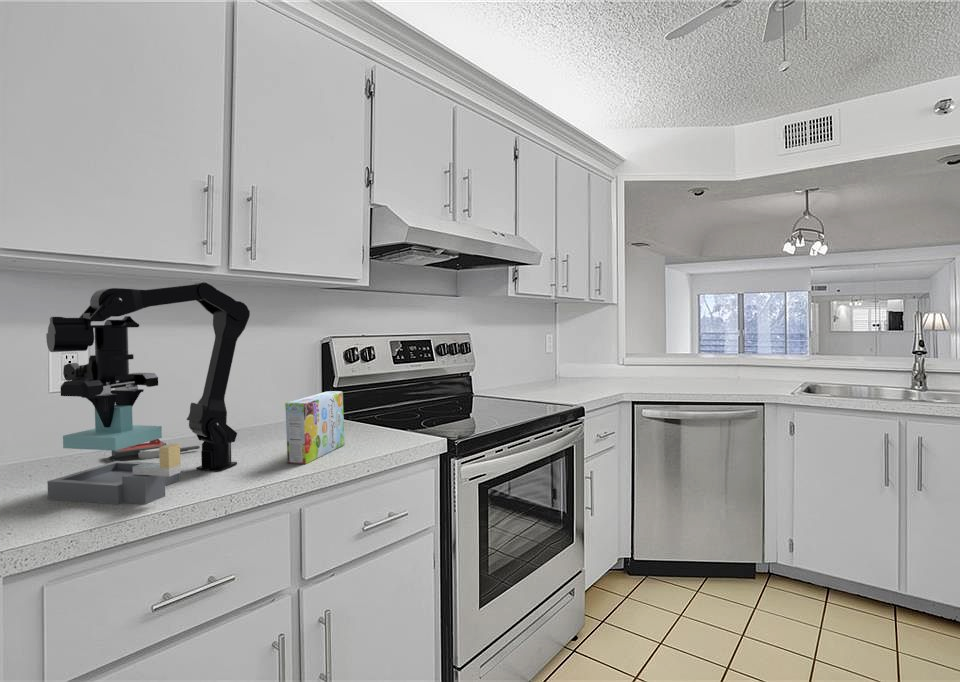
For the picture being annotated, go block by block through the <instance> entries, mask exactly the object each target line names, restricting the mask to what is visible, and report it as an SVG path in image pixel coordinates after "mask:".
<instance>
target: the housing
mask: <svg viewBox="0 0 960 682" xmlns="http://www.w3.org/2000/svg"><path fill="white" fill-rule="evenodd" d="M142 463H148V462H146V461H145V462H144V461H129V460H124V461H114V460H113V461H111V462H109V463H108V462H107V463H104V464H101V465H98V466H95V467H92V468H87V469H84V470H81V471H78V472H73V473H71V474H67V475H64V476H60V477H57V478H54V479H51V480H47V500H54V501H55V500H56V501H67V502H68V501H69V502H81V503H83V502H84V503H96V504H97V503H98V504H107V505H108V504H109V505H110V504H111V505H112V504H113V505H120V504H123V503H124V504H138V505H139V504H140V505H147V504H149V503H152V502H155V501H157V500H159V499H161V498H163V497H166V487H167V486H168V485H172V484H174V483H177V482H179V481H181V480H180V479H181V478H180V476H181V474H180V473H181V472H180V473H177V474H175V475H172V476H169V477H168V476H151V475H134V474H133V468H132V467H133V466H136V465H139V464H142Z"/></svg>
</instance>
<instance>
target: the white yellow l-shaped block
mask: <svg viewBox="0 0 960 682" xmlns="http://www.w3.org/2000/svg"><path fill="white" fill-rule="evenodd" d="M180 448H181V444H180V443H169V444H168V443H167V445H165V446H161V447H159V457H158V458H159V462H147V463H142V464H139V465H136V466H133V467H132V468H133V474H134V475H151V476H168V477H169V476H172V475H175V474H177V473H181V472H182V470H181V452H180Z"/></svg>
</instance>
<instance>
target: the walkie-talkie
mask: <svg viewBox="0 0 960 682" xmlns="http://www.w3.org/2000/svg"><path fill="white" fill-rule="evenodd" d="M165 445H168V443H166V442H164V441H162V440H160V438H159V439H155V440H152V441H148V442H145V443H141V444H138V445H134V446H130V447H127V448H123V449H120V450H116V451H113V450H111V456H109V458H108V459H109V460H110V461H113V462H114V461H130V460H137V459H138V460H139V459H141V460H142V459H143V460H145V459H148V460H149V459H157V458H159V447H161V446H165ZM200 447H201V446H200V445H192V446H183V447H180V453H182V452H188V451H192V450H198V449H201V448H200Z"/></svg>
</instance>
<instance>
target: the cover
mask: <svg viewBox="0 0 960 682" xmlns="http://www.w3.org/2000/svg"><path fill="white" fill-rule="evenodd" d="M94 423H95V424H94V427H95V428H92V429H86V430H82V431H78V432H74V433H69V434H64V435H62V446H63V447H62V448H63V449H74V450H75V449H76V450H90V451H91V450H94V451H97V450H98V451H112V450H113V451H116V450H120V449H123V448H127V447H130V446H134V445H138V444H142V443H149V442H150V441H152V440H155V439H159V440H160V439H162V438H163V436H162V433H163V432H162V425H141V424H140V425H139V424H134V423H133V406H123V405H116V404H115V407H114V413H113V418H112V422H111V426H110V427H108V428H107V427H104V425H103V423H102V421H101V419H100V417H99V415H98V412H97V410H96V408H95V407H94Z"/></svg>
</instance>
